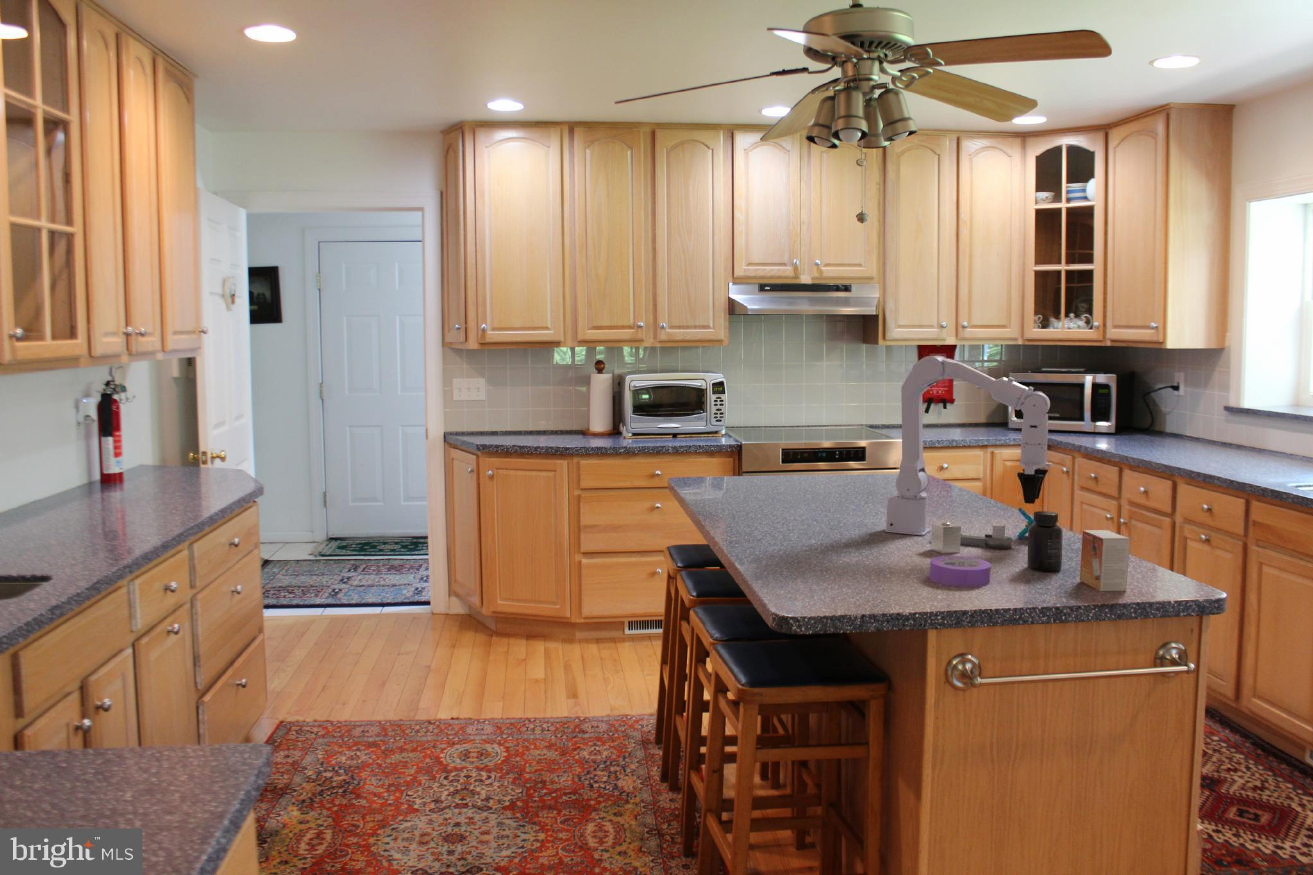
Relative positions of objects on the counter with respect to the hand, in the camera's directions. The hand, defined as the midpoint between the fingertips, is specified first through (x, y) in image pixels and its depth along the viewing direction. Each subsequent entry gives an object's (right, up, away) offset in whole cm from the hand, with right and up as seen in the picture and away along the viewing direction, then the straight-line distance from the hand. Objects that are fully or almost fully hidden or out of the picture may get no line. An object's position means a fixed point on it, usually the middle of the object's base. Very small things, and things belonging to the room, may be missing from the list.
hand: (1031, 501), depth 237 cm
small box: (0, -15, -39) cm, 42 cm away
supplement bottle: (-7, -13, -25) cm, 29 cm away
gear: (+3, -10, +6) cm, 12 cm away
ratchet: (-14, -10, -1) cm, 17 cm away
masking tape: (-27, -14, -34) cm, 46 cm away
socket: (-22, -11, -8) cm, 26 cm away
